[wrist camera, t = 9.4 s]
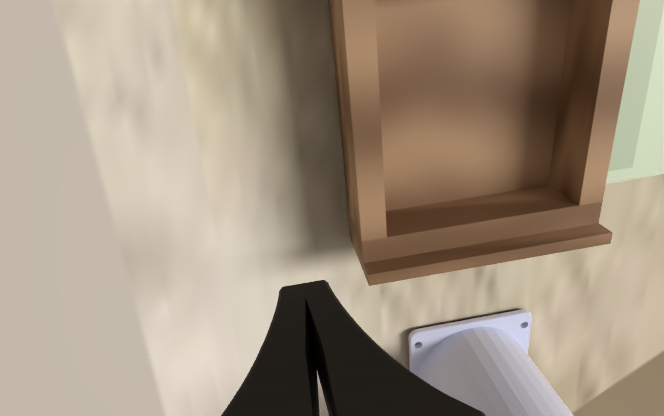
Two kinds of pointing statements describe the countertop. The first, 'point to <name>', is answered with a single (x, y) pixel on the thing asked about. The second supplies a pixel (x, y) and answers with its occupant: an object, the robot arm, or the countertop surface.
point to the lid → (642, 101)
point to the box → (476, 127)
